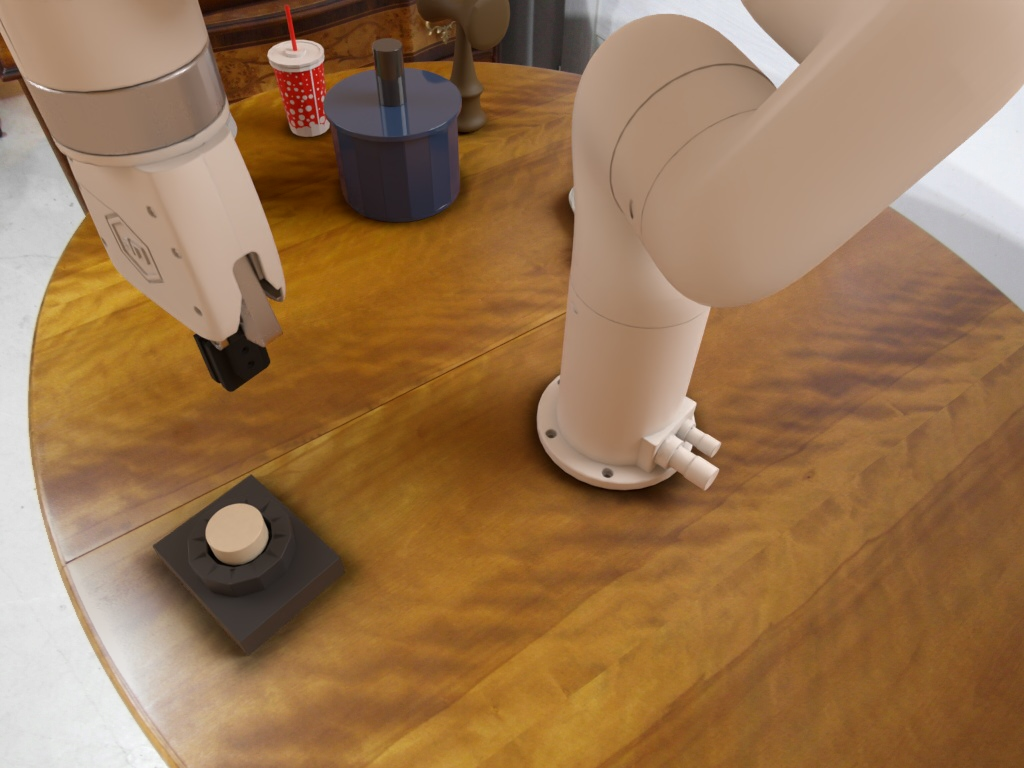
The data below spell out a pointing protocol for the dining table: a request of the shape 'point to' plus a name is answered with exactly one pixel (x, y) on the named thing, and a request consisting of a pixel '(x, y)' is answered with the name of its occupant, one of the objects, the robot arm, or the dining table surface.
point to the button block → (252, 568)
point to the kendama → (469, 46)
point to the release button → (237, 534)
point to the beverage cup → (301, 82)
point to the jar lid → (392, 100)
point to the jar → (399, 174)
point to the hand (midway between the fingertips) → (242, 372)
